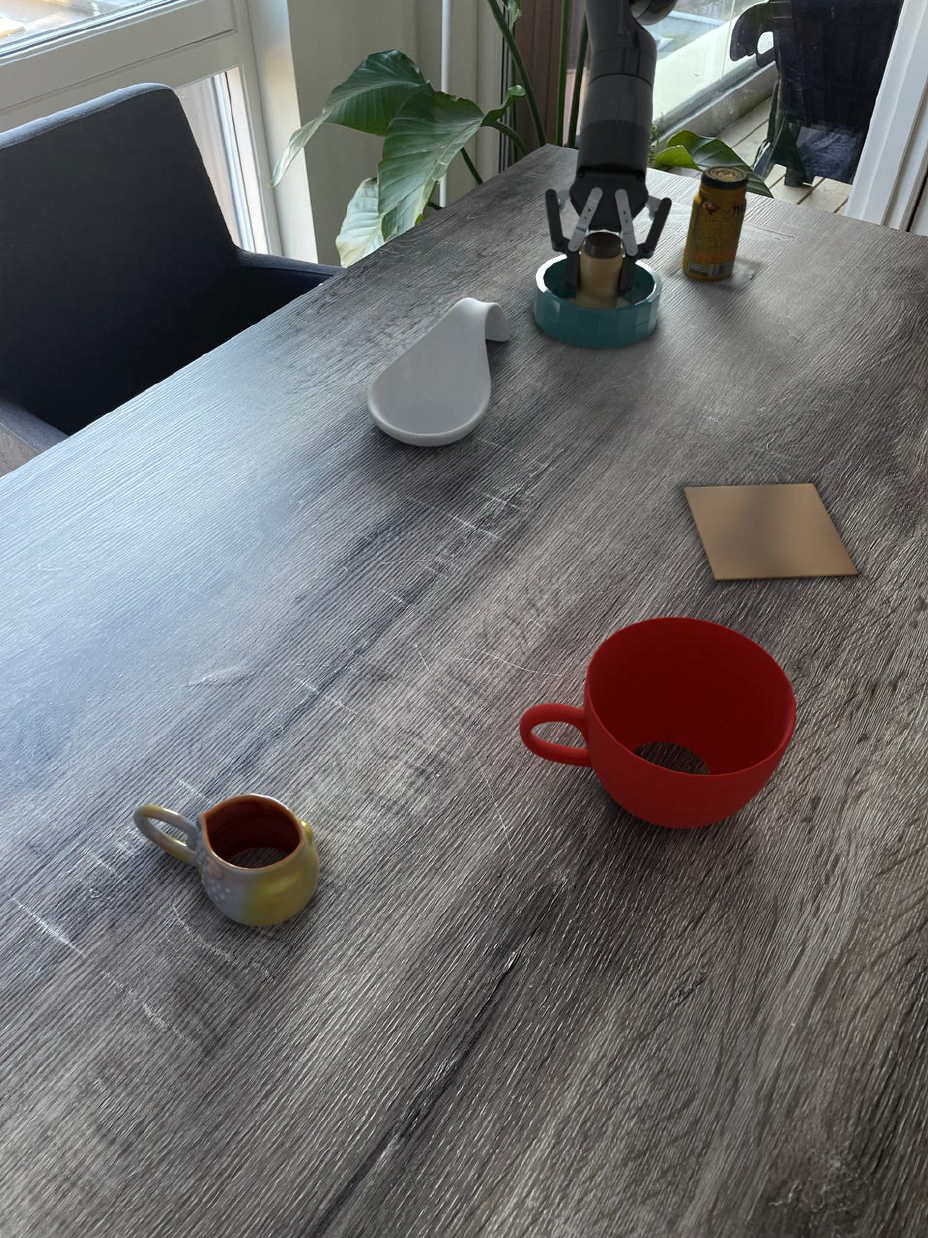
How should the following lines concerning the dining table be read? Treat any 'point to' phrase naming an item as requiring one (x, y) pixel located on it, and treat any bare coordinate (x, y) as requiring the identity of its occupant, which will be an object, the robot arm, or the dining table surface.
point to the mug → (234, 832)
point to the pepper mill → (599, 271)
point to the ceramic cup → (676, 719)
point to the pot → (595, 309)
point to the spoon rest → (440, 378)
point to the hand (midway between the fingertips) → (597, 292)
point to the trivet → (767, 532)
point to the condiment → (716, 224)
